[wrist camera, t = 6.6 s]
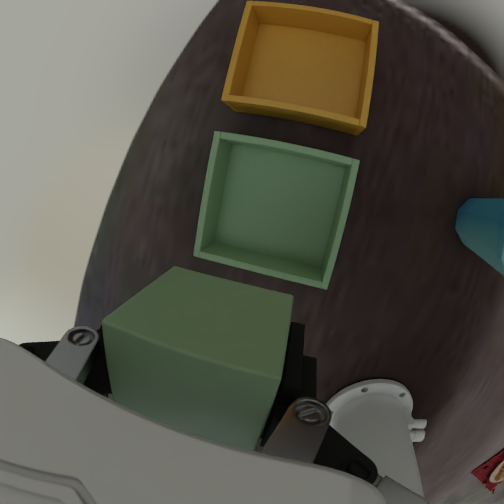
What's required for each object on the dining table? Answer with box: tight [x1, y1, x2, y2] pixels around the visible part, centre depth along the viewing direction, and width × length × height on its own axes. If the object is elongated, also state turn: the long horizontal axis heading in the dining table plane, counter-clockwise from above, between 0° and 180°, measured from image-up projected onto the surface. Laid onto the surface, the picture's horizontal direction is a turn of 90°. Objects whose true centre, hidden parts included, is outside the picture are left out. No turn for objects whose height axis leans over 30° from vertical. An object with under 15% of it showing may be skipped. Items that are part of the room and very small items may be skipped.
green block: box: [102, 266, 293, 452], centre depth 10 cm, size 5×5×5 cm
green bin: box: [193, 131, 360, 290], centre depth 25 cm, size 12×11×4 cm
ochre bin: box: [221, 1, 379, 136], centre depth 21 cm, size 12×11×4 cm
